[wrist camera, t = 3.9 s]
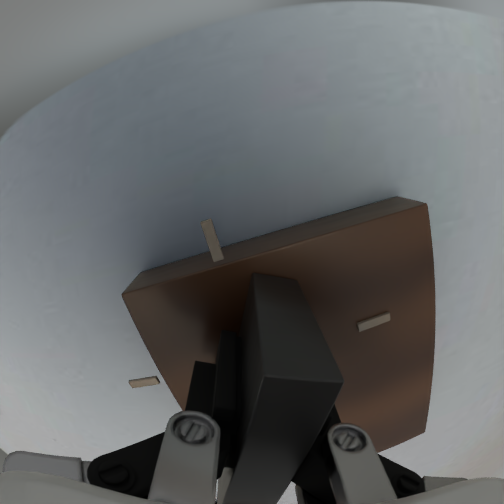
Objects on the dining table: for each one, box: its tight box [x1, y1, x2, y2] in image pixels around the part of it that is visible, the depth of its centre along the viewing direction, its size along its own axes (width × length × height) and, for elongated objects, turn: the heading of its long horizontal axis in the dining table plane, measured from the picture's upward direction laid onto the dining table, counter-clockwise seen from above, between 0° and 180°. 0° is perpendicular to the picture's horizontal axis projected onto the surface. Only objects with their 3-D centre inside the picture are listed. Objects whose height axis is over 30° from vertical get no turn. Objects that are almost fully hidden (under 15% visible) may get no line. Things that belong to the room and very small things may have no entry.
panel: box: [122, 196, 435, 453], centre depth 13 cm, size 16×14×3 cm
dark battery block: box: [217, 273, 344, 504], centre depth 9 cm, size 7×2×6 cm, turn 169°
